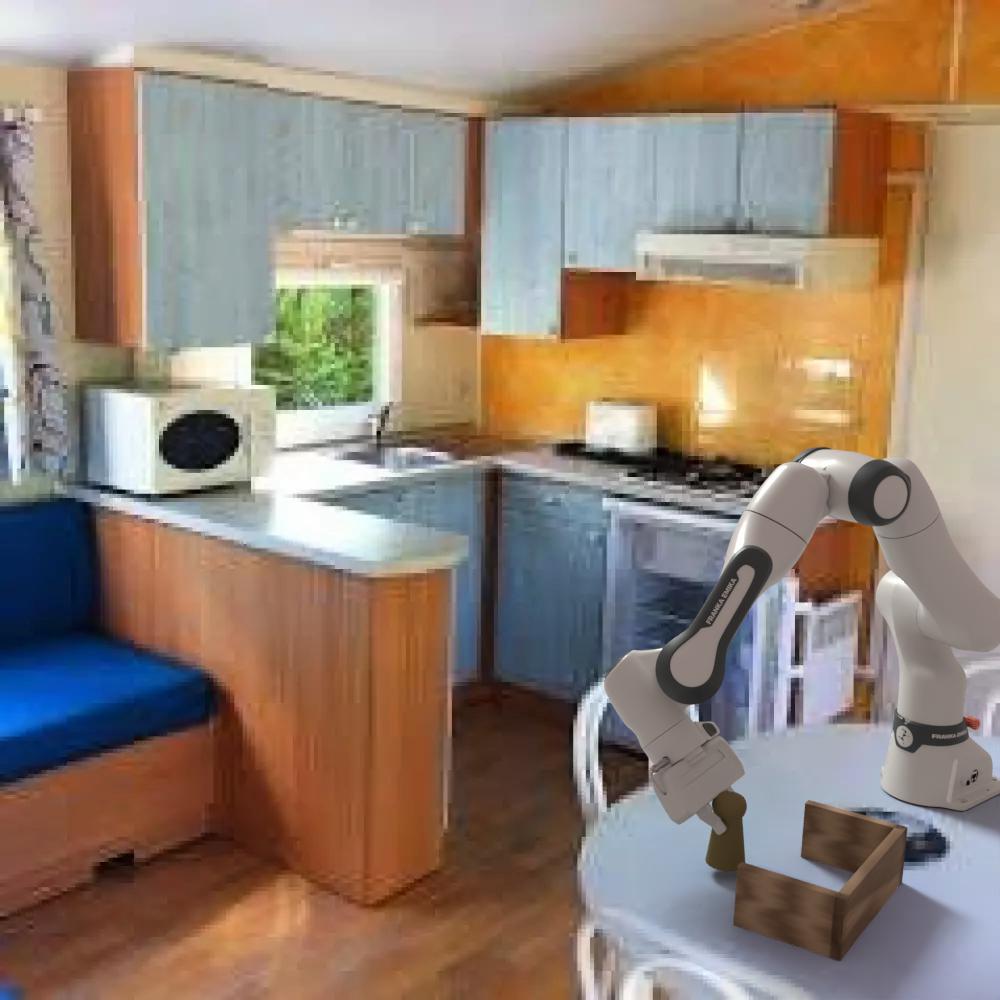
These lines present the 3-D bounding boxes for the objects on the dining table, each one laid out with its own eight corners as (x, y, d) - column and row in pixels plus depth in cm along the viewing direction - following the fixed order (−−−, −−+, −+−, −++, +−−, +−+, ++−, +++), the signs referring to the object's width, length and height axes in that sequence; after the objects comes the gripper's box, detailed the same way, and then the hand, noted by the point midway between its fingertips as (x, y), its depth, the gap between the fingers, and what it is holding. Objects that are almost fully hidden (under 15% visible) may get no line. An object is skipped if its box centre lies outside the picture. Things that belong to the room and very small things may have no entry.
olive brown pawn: (745, 873, 193) (750, 805, 190) (704, 869, 194) (709, 800, 191) (745, 855, 198) (750, 788, 196) (706, 850, 199) (710, 784, 197)
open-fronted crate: (733, 924, 181) (737, 865, 180) (804, 852, 203) (808, 799, 201) (840, 961, 173) (845, 899, 171) (902, 882, 195) (907, 827, 193)
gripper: (659, 759, 188) (717, 840, 184) (719, 719, 204) (772, 792, 201) (631, 780, 191) (687, 860, 188) (692, 738, 208) (744, 811, 204)
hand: (731, 825), depth 194 cm, fingers closed on olive brown pawn, 4 cm apart
